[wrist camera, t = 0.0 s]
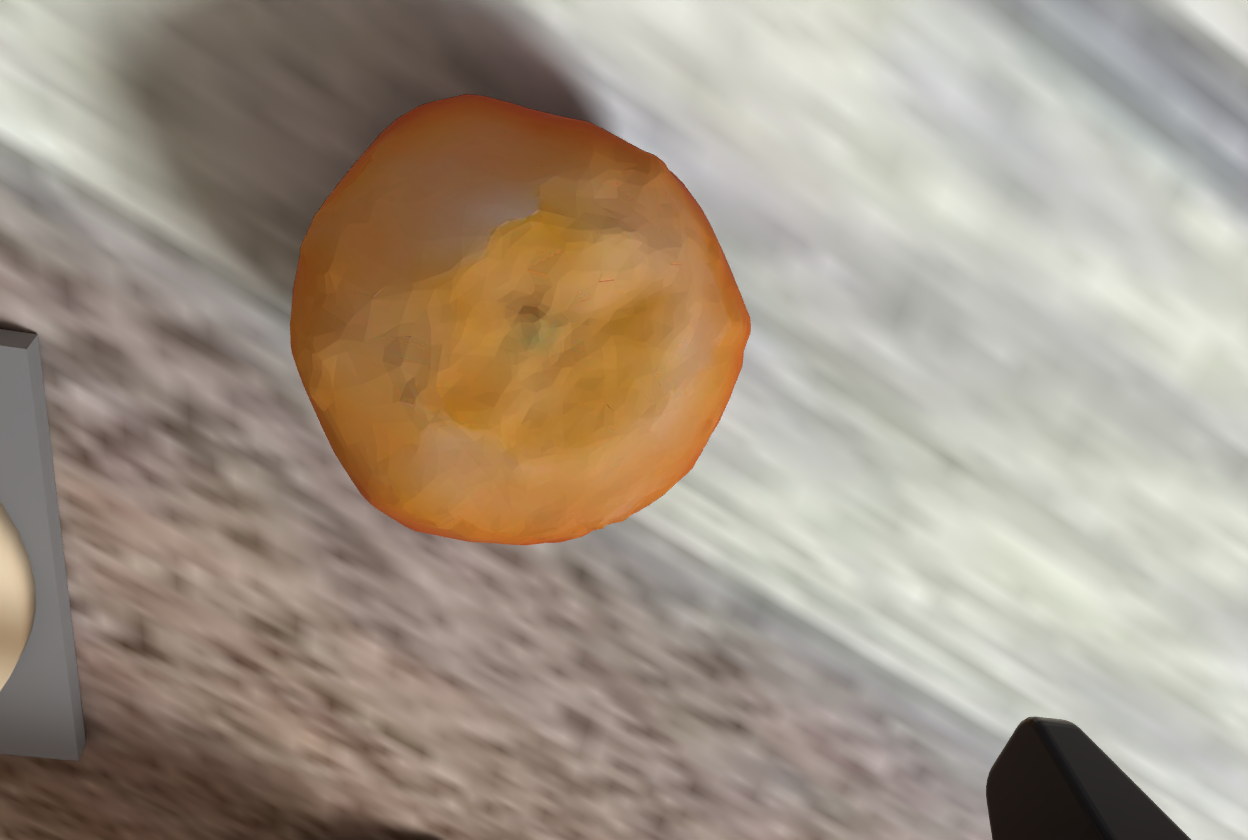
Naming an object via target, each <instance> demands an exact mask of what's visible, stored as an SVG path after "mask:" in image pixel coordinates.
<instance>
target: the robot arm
mask: <svg viewBox="0 0 1248 840" xmlns="http://www.w3.org/2000/svg"><path fill="white" fill-rule="evenodd" d="M986 798H987V806H988V812H989V819H990V826H991V833H992V839H993V840H1191V839H1190V838H1189V837H1188V836H1187V835H1186V834H1185V833H1184V832H1183V831H1182V830H1181V829H1180V828H1179V827H1178V826H1177V825H1176V824H1175V823H1174V822H1173V821H1172V820H1171V819H1170V818H1169V817H1168V816H1167V815H1166V814H1165V813H1164V812H1163V811H1162V810H1161V809H1160V808H1159V807H1158V806H1157V805H1156V804H1155V803H1154V802H1153V801H1152V800H1151V799H1150V798H1149V797H1148V796H1147V795H1146V794H1145V793H1144V792H1143V791H1142V790H1141V789H1140V788H1139V787H1138V786H1137V785H1136V784H1135V783H1134V782H1133V781H1132V780H1131V779H1130V778H1129V777H1128V776H1127V775H1126V774H1125V773H1124V772H1123V771H1122V770H1121V769H1120V768H1119V767H1118V766H1117V765H1116V764H1115V763H1114V762H1113V761H1112V760H1111V759H1110V758H1109V757H1108V756H1107V755H1106V754H1105V753H1104V752H1103V751H1102V750H1101V749H1100V748H1099V747H1098V746H1097V745H1096V744H1095V743H1094V742H1093V741H1092V740H1091V739H1090V738H1089V737H1088V736H1087V735H1086V734H1085V733H1084V732H1083V731H1082V730H1081V729H1080V728H1079V727H1078V726H1076V725H1075V724H1073V723H1072V722H1069V721H1066V720H1060V719H1052V718H1043V717H1028V718H1027V719H1025V720H1023V721H1022V722H1021V723H1020V724H1019V725H1018V727H1017V728H1016V730H1015V731H1014V733H1013V735H1012V736H1011V738H1010V739H1009V741H1008V742H1007V744H1006V746H1005V747H1004V749H1003V750H1002V752H1001V754H1000V755H999V757H998V758H997V760H996V762H995V763H994V765H993V766H992V768H991V770H990V772H989V776H988V779H987V785H986Z"/></svg>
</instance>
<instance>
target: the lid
mask: <svg viewBox="0 0 1248 840" xmlns="http://www.w3.org/2000/svg"><path fill="white" fill-rule="evenodd" d="M35 610H36V592H35V580H34V576H33V572H32V567H31V563H30V559H29V556H28V553H27V551H26V549H25V546H24V544H23V542H22V539H21V537H20V534H19V532H18V530H17V528H16V527H15V525H14V523H13V522H12V520H11V518H10V517H9V515H8V513H7V512H6V510H5V508H4V507H3V505H2V503H1V502H0V691H1V689H2V688H3V686H4V685H5V683H6V682H7V680H8V679H9V677H10V675H11V674H12V672H13V670H14V668H15V666H16V664H17V662H18V660H19V658H20V657H21V655H22V653H23V651H24V649H25V647H26V644H27V642H28V639H29V636H30V634H31V631H32V629H33V623H34V617H35Z"/></svg>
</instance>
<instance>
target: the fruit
mask: <svg viewBox="0 0 1248 840" xmlns="http://www.w3.org/2000/svg"><path fill="white" fill-rule="evenodd" d="M750 330H751V324H750V316H749V314H748V312H747V309H746V307H745V304H744V301H743V299H742V296H741V294H740V291H739V289H738V286H737V284H736V282H735V279H734V276H733V274H732V272H731V269H730V267H729V264H728V262H727V260H726V257H725V255H724V253H723V250H722V248H721V246H720V244H719V242H718V240H717V238H716V235H715V233H714V231H713V229H712V227H711V225H710V223H709V221H708V219H707V218H706V216H705V214H704V212H703V210H702V208H701V207H700V206H699V204H698V203H697V201H696V200H695V199H694V197H693V196H692V195H691V193H690V192H689V191H688V189H687V188H686V187H685V185H684V184H683V183H682V182H681V181H680V180H679V179H678V178H677V177H676V176H675V175H674V174H673V173H672V172H671V171H670V170H669V169H668V168H667V166H666V164H665V163H664V162H663V161H662V160H661V159H659V158H658V157H657V156H655V155H653V154H651V153H648V152H646V151H643V150H641V149H639V148H637V147H636V146H634V145H632V144H630V143H628V142H626V141H625V140H623V139H621V138H619V137H617V136H615V135H613V134H612V133H610V132H608V131H606V130H604V129H602V128H600V127H598V126H596V125H594V124H592V123H590V122H587V121H583V120H577V119H572V118H567V117H562V116H558V115H554V114H550V113H546V112H542V111H537V110H533V109H530V108H526V107H523V106H520V105H516V104H513V103H510V102H506V101H502V100H498V99H494V98H490V97H486V96H479V95H468V94H464V95H460V96H456V97H451V98H447V99H443V100H438V101H434V102H429V103H426V104H423V105H420V106H418V107H417V108H415V109H413V110H411V111H410V112H408V113H406V114H404V115H403V116H401V117H399V118H397V119H396V120H395V121H394V122H393V123H392V124H391V125H390V126H388V127H387V128H386V129H385V130H384V131H383V132H382V133H381V134H380V135H379V136H378V137H377V139H376V140H375V141H374V142H373V143H372V144H371V145H370V147H369V148H368V149H367V150H366V151H365V152H364V153H363V155H362V156H361V157H360V158H359V159H358V160H357V162H356V163H355V164H354V165H353V166H352V167H351V169H350V170H349V171H348V172H347V174H346V175H345V176H344V177H343V178H342V180H341V181H340V182H339V183H338V185H337V186H336V188H335V189H334V190H333V191H332V193H331V194H330V195H329V197H328V198H327V199H326V200H325V202H324V203H323V205H322V206H321V208H320V209H319V211H318V213H316V214H315V216H314V217H313V220H312V223H311V224H310V227H309V229H308V231H307V234H306V236H305V238H304V240H303V242H302V245H301V247H300V257H299V262H298V267H297V272H296V277H295V282H294V288H293V299H292V310H291V321H290V335H291V349H292V354H293V357H294V360H295V363H296V366H297V369H298V372H299V374H300V377H301V380H302V382H303V385H304V387H305V390H306V392H307V394H308V396H309V399H310V401H311V403H312V405H313V408H314V410H315V412H316V414H317V417H318V419H319V421H320V423H321V426H322V428H323V430H324V432H325V434H326V436H327V438H328V440H329V443H330V445H331V447H332V449H333V451H334V453H335V454H336V456H337V458H338V459H339V461H340V462H341V464H342V466H343V467H344V469H345V470H346V472H347V473H348V475H349V477H350V478H351V480H352V481H353V483H354V484H355V486H356V487H357V489H358V490H359V492H360V493H361V494H362V496H363V497H364V498H365V499H366V500H367V501H368V502H369V503H370V504H371V505H373V506H374V507H375V508H377V509H378V510H380V511H381V512H383V513H384V514H386V515H388V516H389V517H391V518H392V519H394V520H396V521H397V522H399V523H401V524H402V525H404V526H406V527H408V528H410V529H412V530H414V531H418V532H423V533H428V534H433V535H438V536H443V537H448V538H453V539H458V540H463V541H468V542H484V543H499V544H511V545H531V544H540V543H556V542H563V541H567V540H570V539H575V538H578V537H582V536H584V535H586V534H588V533H589V532H591V531H593V530H597V529H602V528H604V527H605V526H606V525H608V524H611V523H616V522H622V521H624V520H626V519H627V518H628V517H629V516H630V515H632V514H634V513H636V512H638V511H640V510H641V509H643V508H645V507H646V506H648V505H650V504H651V503H653V502H654V501H656V500H657V499H659V498H660V497H661V496H663V495H664V494H665V493H666V492H667V491H668V490H669V489H671V488H672V487H673V486H674V485H675V484H676V483H677V482H678V481H679V480H680V479H682V478H683V477H684V476H685V475H686V474H687V473H688V472H689V471H690V470H691V469H692V468H693V466H694V465H695V463H696V461H697V459H698V458H699V456H700V454H701V453H702V451H703V448H704V447H705V445H706V444H707V442H708V440H709V437H710V435H711V434H712V432H713V431H714V429H715V428H716V426H717V424H718V423H719V421H720V418H721V416H722V414H723V412H724V410H725V408H726V405H727V403H728V401H729V399H730V397H731V394H732V391H733V388H734V385H735V383H736V380H737V378H738V376H739V373H740V371H741V368H742V364H743V352H744V349H745V346H746V343H747V340H748V338H749V335H750Z"/></svg>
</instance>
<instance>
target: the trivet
mask: <svg viewBox="0 0 1248 840" xmlns="http://www.w3.org/2000/svg"><path fill="white" fill-rule="evenodd" d="M0 502H1V503H2V505H3V507H4V508H5V510H6V512H7V513H8V515H9V517H10V518H11V520H12V522H13V523H14V525H15V527H16V528H17V530H18V532H19V534H20V537H21V539H22V542H23V544H24V546H25V549H26V551H27V553H28V556H29V559H30V563H31V567H32V572H33V576H34V580H35V592H36V610H35V617H34V623H33V629H32V631H31V634H30V636H29V639H28V642H27V644H26V647H25V649H24V651H23V653H22V655H21V657H20V658H19V660H18V662H17V664H16V666H15V668H14V670H13V672H12V674H11V675H10V677H9V679H8V680H7V682H6V683H5V685H4V686H3V688H2V689H1V691H0V754H6V755H17V756H28V757H39V758H50V759H60V760H71V761H79V759H80V757H81V755H82V752H83V750H84V748H85V745H86V738H85V730H84V721H83V713H82V704H81V696H80V687H79V679H78V670H77V662H76V653H75V645H74V637H73V628H72V620H71V611H70V603H69V594H68V586H67V577H66V569H65V560H64V552H63V544H62V535H61V527H60V518H59V510H58V501H57V493H56V484H55V476H54V467H53V459H52V451H51V442H50V434H49V425H48V417H47V408H46V400H45V391H44V383H43V374H42V366H41V358H40V349H39V341H38V334H32V333H25V332H18V331H11V330H4V329H0Z"/></svg>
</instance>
